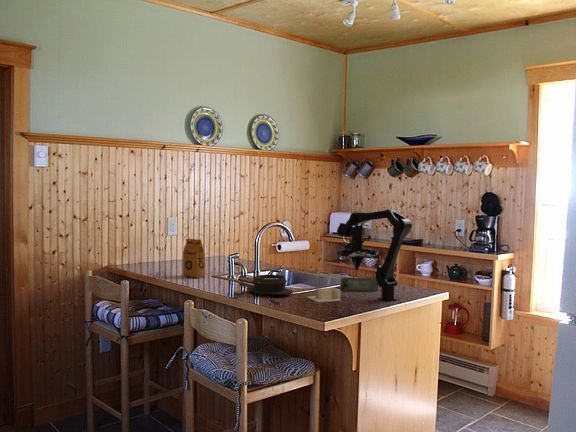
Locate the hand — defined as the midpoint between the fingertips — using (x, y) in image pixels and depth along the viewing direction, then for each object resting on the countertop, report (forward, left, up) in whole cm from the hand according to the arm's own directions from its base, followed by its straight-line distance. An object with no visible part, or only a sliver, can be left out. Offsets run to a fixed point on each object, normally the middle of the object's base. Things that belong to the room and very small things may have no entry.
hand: (356, 270), depth 271 cm
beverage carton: (+12, -8, -12) cm, 19 cm away
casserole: (+14, +40, -12) cm, 44 cm away
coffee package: (+74, +65, -12) cm, 99 cm away
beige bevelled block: (-6, +13, -10) cm, 17 cm away
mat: (-6, +20, -12) cm, 24 cm away
